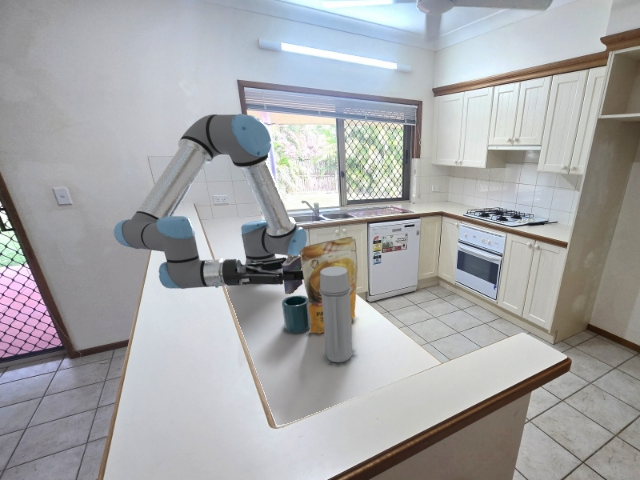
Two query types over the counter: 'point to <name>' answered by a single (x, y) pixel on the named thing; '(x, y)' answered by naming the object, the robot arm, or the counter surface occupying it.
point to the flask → (292, 264)
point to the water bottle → (336, 313)
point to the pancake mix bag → (323, 257)
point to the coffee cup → (296, 314)
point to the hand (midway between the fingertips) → (308, 268)
